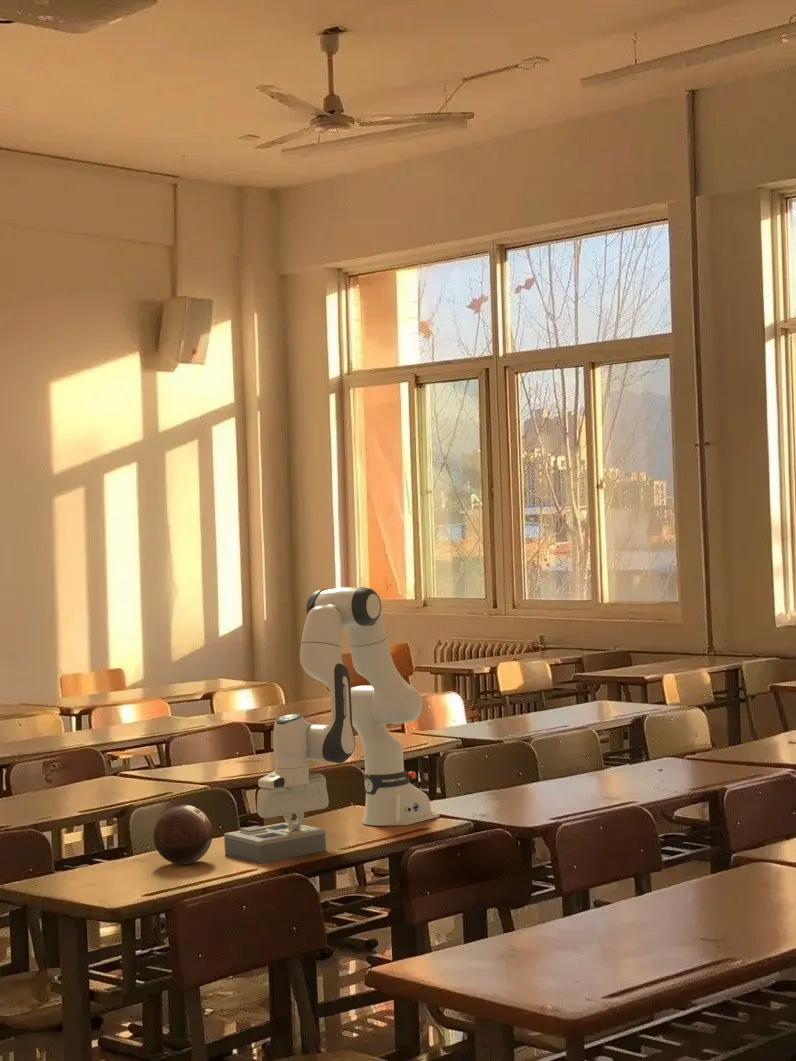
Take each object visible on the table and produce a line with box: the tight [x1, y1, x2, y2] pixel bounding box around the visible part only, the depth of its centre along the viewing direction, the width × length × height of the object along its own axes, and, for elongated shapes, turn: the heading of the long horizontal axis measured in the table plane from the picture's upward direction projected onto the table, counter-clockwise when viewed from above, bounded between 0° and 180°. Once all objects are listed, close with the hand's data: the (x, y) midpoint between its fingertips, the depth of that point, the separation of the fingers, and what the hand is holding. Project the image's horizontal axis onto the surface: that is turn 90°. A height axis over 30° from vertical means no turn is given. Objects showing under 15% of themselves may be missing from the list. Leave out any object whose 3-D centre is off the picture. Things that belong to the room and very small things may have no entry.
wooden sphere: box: [152, 804, 213, 865], centre depth 385 cm, size 15×15×15 cm
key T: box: [282, 828, 309, 834], centre depth 392 cm, size 5×5×3 cm
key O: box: [239, 825, 266, 835], centre depth 394 cm, size 5×5×3 cm
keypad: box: [223, 821, 327, 864], centre depth 393 cm, size 20×18×6 cm
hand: (294, 830), depth 392 cm, fingers closed
